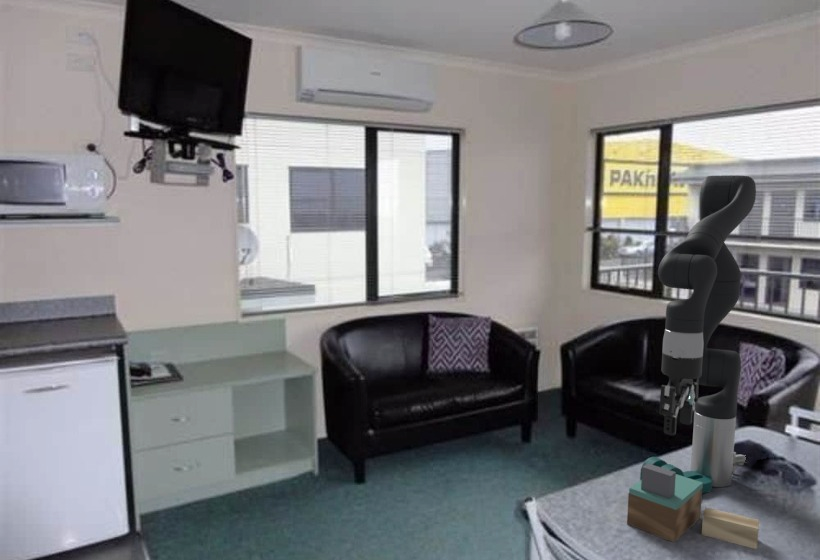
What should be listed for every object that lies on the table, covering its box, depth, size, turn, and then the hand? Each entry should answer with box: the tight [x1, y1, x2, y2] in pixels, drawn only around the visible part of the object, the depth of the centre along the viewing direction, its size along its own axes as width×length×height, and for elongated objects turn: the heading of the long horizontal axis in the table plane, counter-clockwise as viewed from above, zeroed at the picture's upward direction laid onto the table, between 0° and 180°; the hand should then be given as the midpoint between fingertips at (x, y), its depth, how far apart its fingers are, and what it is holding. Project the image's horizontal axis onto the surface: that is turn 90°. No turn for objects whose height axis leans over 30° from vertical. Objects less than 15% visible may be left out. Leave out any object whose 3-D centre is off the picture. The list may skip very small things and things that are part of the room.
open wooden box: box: [626, 489, 703, 543], centre depth 130 cm, size 14×10×7 cm
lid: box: [628, 463, 703, 510], centre depth 129 cm, size 14×10×7 cm
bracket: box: [639, 456, 713, 494], centre depth 144 cm, size 18×7×8 cm, turn 112°
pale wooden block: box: [701, 506, 760, 550], centre depth 124 cm, size 4×10×4 cm, turn 58°
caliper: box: [732, 451, 746, 475], centre depth 158 cm, size 20×1×6 cm, turn 124°
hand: (677, 429), depth 124 cm, fingers open, 8 cm apart
